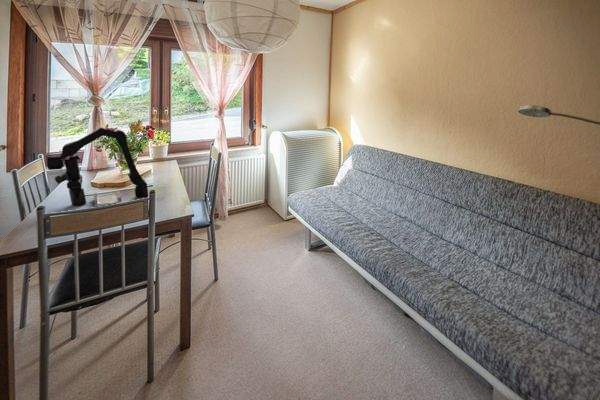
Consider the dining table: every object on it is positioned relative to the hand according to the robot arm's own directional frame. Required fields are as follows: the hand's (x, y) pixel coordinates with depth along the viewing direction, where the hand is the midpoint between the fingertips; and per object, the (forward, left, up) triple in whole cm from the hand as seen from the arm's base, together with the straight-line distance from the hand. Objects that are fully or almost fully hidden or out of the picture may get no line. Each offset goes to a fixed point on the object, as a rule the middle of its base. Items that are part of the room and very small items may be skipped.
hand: (77, 196), depth 185 cm
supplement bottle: (0, 0, -5) cm, 5 cm away
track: (-14, +1, -5) cm, 15 cm away
